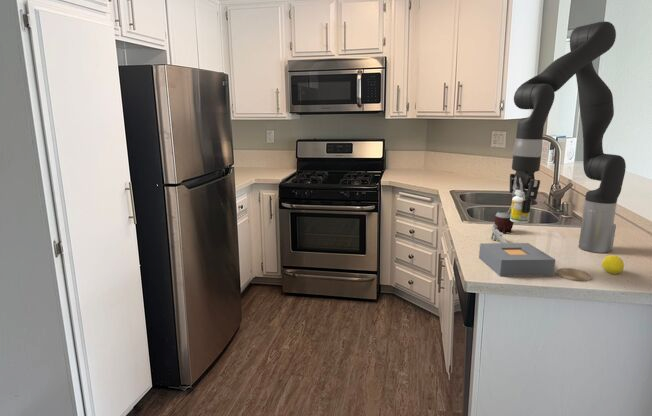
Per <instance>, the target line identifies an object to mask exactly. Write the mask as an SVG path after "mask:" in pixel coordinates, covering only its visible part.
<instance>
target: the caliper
mask: <svg viewBox="0 0 652 416" xmlns="http://www.w3.org/2000/svg"><path fill="white" fill-rule="evenodd" d="M497 227H498V226H496V225H495V224H493V226H492V227H491V231H490V233H491V234H490V239H491V240H492V241H493V242H495V241H498V242H499V243H509V242H508V241H507V240H506V239H505V238H504V237H503V233H502V232H499V230H498V229H497Z"/></svg>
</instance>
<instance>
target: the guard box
mask: <svg viewBox="0 0 652 416" xmlns="http://www.w3.org/2000/svg"><path fill="white" fill-rule="evenodd" d="M504 250H521V251H523V252H524V253H526V254H524V255H510V254H509V253H507V252H506V251H504ZM478 252H479V253H478V259H479V260H480V261H482V262H483V264H485V265H486V266H487V267H488V268H490V269H491V270H492V271H493V272H494V273H496V274H497V275H498V276H499V277H538V276H539V277H545V276H546V277H547V276H549V277H553V276H554V275H555V274H554V273H555V265H556V259H555V258H554V257H552V256H550V255H549V254H547V253H545V252H544V251H542V250H541V249H538V248H537V247H536V246H534V245H532V244H530V243H529V242H519V243H518V242H508V243H501V242H497V243H496V242H495V243H494V242H493V243H488V242H487V243H486V242H485V243H483V242H482V243H481V242H480V243H479V251H478Z"/></svg>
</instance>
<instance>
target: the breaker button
mask: <svg viewBox="0 0 652 416" xmlns="http://www.w3.org/2000/svg"><path fill="white" fill-rule="evenodd" d="M504 251H506V252H507V253H509V254H510V255H524V254H526V253H524V252H523V251H521V250H504Z"/></svg>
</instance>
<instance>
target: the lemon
mask: <svg viewBox="0 0 652 416" xmlns="http://www.w3.org/2000/svg"><path fill="white" fill-rule="evenodd" d="M601 265H602V267H603V270H604V271H606V272H607V273H609V274H612V275H615V274H616V275H617V274H619V273H621V272H622V271H624V267H625V264H624V261H623V259H622V258H621V257H619V256H618V255H611V254H610V255H608V256H605V257H604V258H603V260H602V263H601Z"/></svg>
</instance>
